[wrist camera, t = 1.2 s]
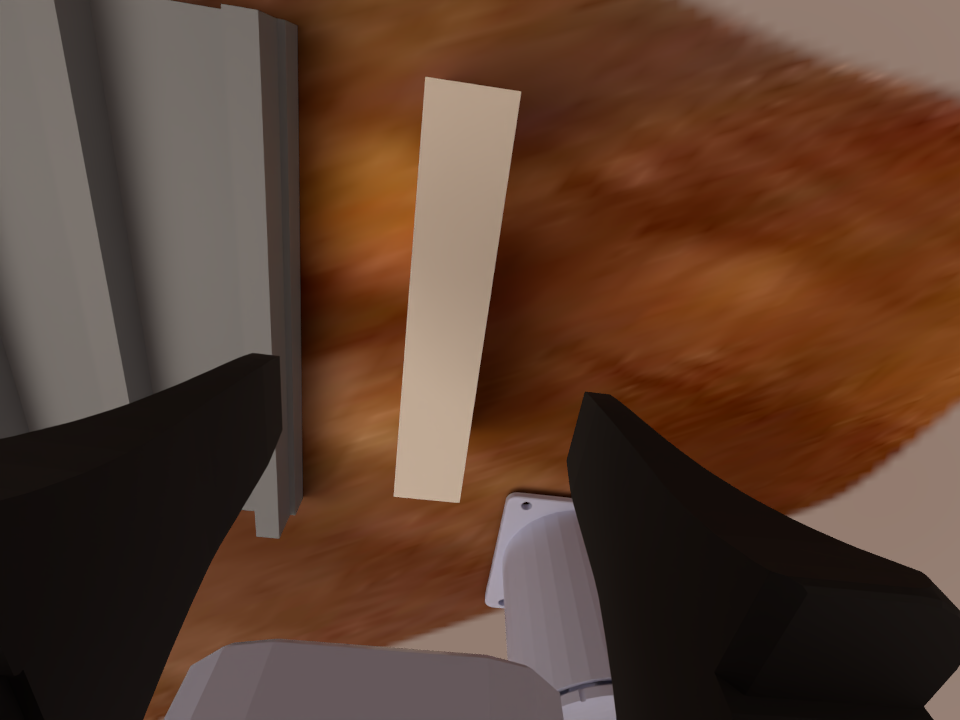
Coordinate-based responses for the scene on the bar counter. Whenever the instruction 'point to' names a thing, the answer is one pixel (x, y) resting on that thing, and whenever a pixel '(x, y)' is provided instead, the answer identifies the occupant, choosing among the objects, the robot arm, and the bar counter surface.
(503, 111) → the clay strip
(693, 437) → the bar counter surface
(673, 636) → the robot arm
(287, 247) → the drying rack
